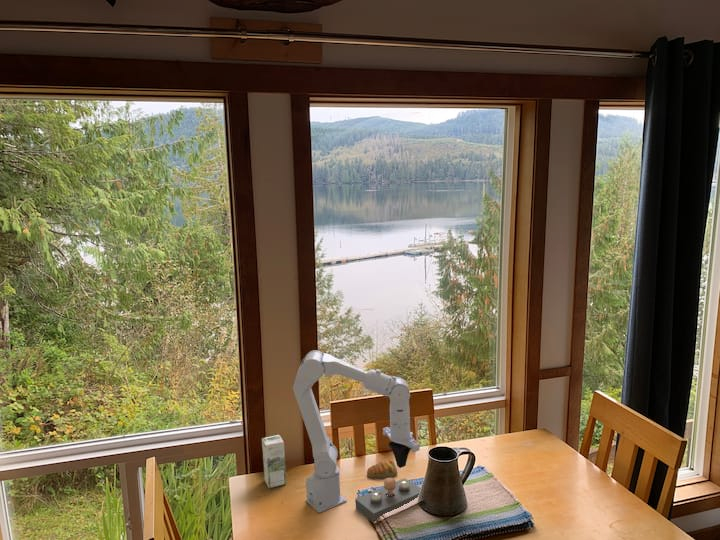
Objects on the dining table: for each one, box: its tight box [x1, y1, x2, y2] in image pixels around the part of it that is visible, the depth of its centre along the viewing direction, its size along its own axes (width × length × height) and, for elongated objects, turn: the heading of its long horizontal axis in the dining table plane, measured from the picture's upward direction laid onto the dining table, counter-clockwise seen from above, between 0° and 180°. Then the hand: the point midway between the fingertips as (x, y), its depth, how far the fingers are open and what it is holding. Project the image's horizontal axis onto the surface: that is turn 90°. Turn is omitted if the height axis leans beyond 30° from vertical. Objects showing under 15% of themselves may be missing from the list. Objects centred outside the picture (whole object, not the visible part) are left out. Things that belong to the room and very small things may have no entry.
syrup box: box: [261, 434, 287, 490], centre depth 166 cm, size 6×6×14 cm
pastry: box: [366, 459, 398, 479], centre depth 169 cm, size 9×7×4 cm
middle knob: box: [383, 477, 396, 498], centre depth 151 cm, size 3×3×5 cm
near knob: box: [369, 490, 382, 504], centre depth 149 cm, size 3×3×5 cm
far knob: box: [397, 478, 410, 492], centre depth 154 cm, size 3×3×5 cm
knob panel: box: [354, 477, 422, 523], centre depth 152 cm, size 18×9×3 cm, turn 124°
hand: (401, 466), depth 154 cm, fingers closed
